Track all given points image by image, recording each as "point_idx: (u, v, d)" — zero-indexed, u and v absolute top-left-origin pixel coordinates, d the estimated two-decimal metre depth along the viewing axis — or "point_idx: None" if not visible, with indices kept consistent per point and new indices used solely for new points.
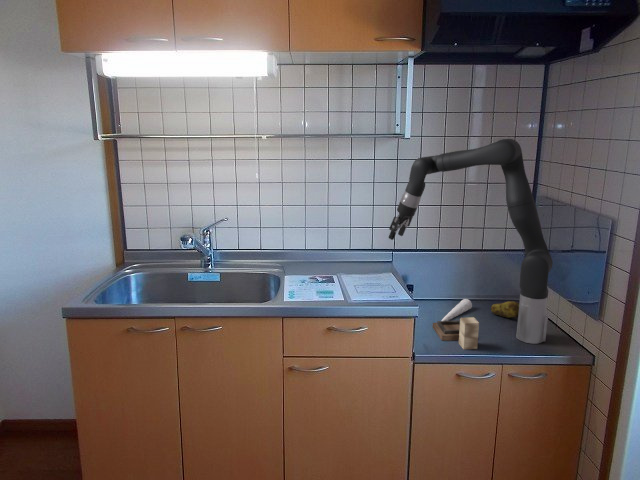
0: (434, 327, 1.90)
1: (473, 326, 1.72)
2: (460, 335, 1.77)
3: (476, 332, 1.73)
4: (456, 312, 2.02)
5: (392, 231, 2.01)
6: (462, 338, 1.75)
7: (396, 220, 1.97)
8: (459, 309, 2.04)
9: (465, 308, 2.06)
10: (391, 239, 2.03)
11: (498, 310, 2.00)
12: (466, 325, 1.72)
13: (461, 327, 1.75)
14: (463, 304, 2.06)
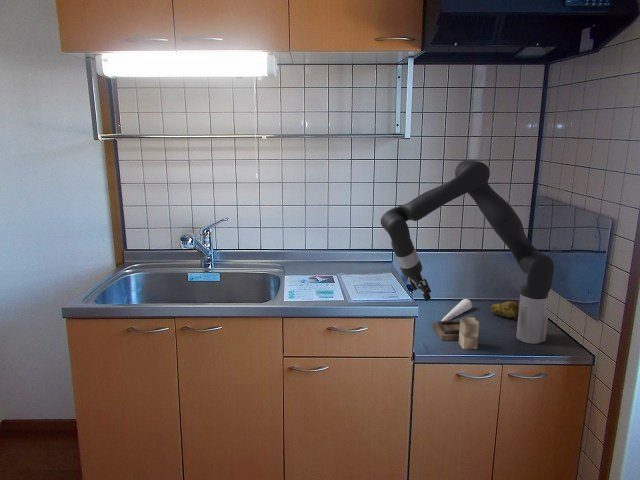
0: (434, 327, 1.90)
1: (473, 326, 1.72)
2: (460, 335, 1.77)
3: (476, 332, 1.73)
4: (456, 312, 2.02)
5: (426, 293, 1.74)
6: (462, 338, 1.75)
7: (425, 282, 1.70)
8: (459, 309, 2.03)
9: (465, 308, 2.06)
10: (429, 299, 1.77)
11: (498, 310, 2.00)
12: (466, 325, 1.72)
13: (461, 327, 1.75)
14: (463, 304, 2.06)
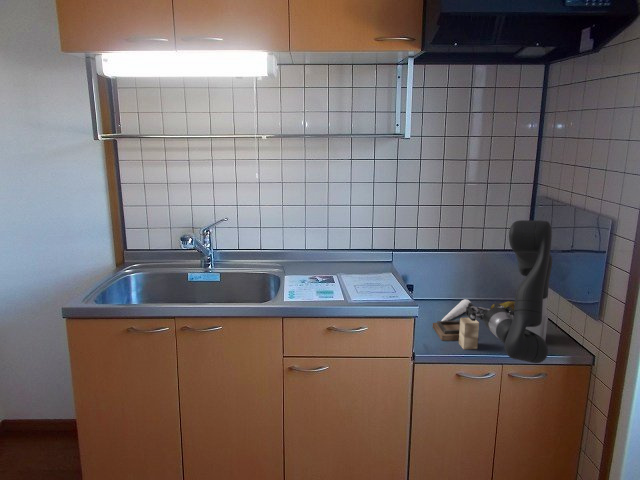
0: (434, 327, 1.90)
1: (473, 326, 1.72)
2: (460, 335, 1.77)
3: (476, 332, 1.73)
4: (456, 312, 2.02)
5: None
6: (462, 338, 1.75)
7: None
8: (459, 309, 2.03)
9: (465, 308, 2.06)
10: None
11: None
12: (466, 325, 1.72)
13: (461, 327, 1.75)
14: (463, 304, 2.06)
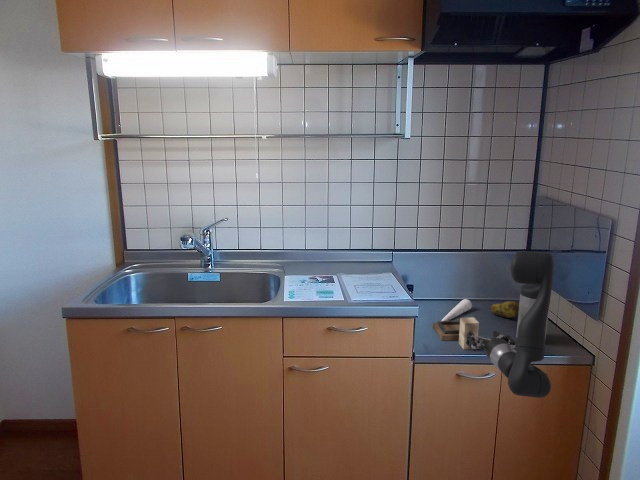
0: (434, 327, 1.90)
1: (473, 326, 1.72)
2: (460, 335, 1.77)
3: (476, 332, 1.73)
4: (456, 312, 2.02)
5: None
6: (462, 338, 1.75)
7: None
8: (459, 309, 2.03)
9: (465, 308, 2.06)
10: None
11: (498, 310, 2.00)
12: (466, 325, 1.72)
13: (461, 327, 1.75)
14: (463, 304, 2.06)
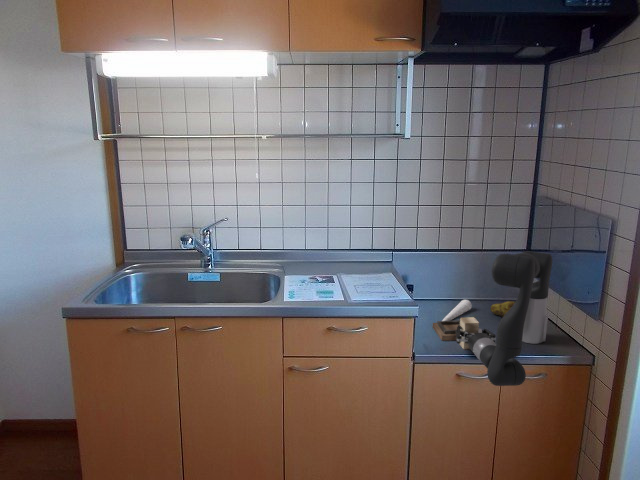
0: (434, 327, 1.90)
1: (473, 326, 1.72)
2: None
3: (476, 332, 1.73)
4: (456, 313, 2.01)
5: None
6: None
7: None
8: (459, 310, 2.03)
9: (465, 309, 2.05)
10: None
11: (498, 310, 2.00)
12: (466, 325, 1.72)
13: None
14: (463, 305, 2.06)
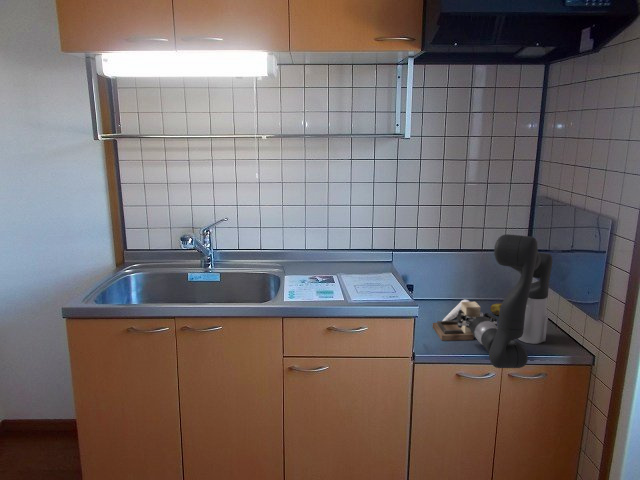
0: (434, 327, 1.90)
1: (475, 310, 1.71)
2: None
3: (477, 316, 1.71)
4: (456, 313, 2.01)
5: (482, 315, 1.73)
6: None
7: None
8: None
9: None
10: None
11: (498, 310, 2.00)
12: (467, 309, 1.71)
13: None
14: None
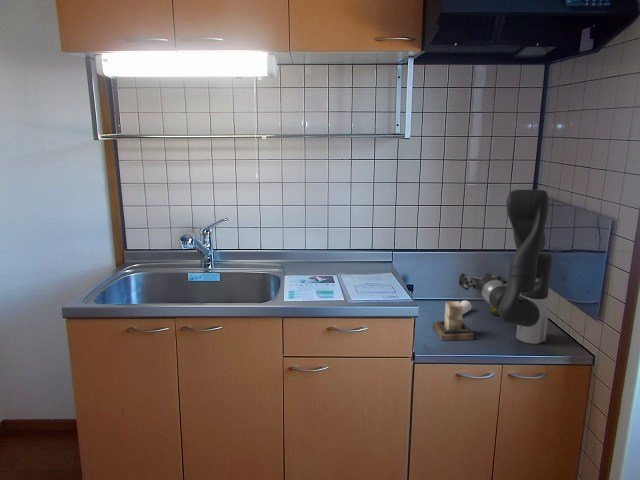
0: (434, 327, 1.90)
1: (458, 309, 1.82)
2: (445, 318, 1.87)
3: (460, 315, 1.83)
4: None
5: None
6: (447, 321, 1.85)
7: None
8: None
9: (465, 310, 2.04)
10: None
11: (497, 310, 2.00)
12: (450, 308, 1.82)
13: (446, 310, 1.85)
14: (463, 306, 2.05)
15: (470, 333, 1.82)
